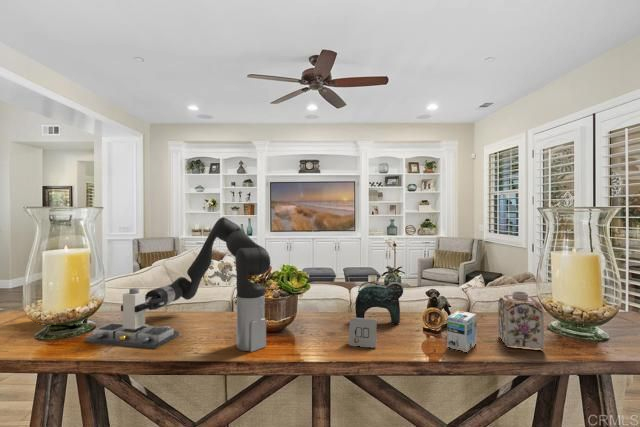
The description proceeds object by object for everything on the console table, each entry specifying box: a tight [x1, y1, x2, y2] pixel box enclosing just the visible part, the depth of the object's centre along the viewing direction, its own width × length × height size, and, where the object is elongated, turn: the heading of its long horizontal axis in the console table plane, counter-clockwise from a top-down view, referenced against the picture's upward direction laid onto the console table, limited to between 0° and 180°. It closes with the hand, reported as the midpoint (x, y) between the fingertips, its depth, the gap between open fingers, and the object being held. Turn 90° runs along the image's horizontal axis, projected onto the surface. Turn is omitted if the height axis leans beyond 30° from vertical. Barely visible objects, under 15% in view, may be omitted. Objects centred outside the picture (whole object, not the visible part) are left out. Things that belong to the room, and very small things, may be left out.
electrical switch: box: [348, 317, 378, 349], centre depth 120 cm, size 9×5×9 cm, turn 78°
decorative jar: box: [497, 290, 545, 350], centre depth 121 cm, size 12×12×18 cm
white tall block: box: [122, 287, 146, 329], centre depth 124 cm, size 5×5×14 cm
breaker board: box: [85, 321, 180, 350], centre depth 124 cm, size 27×13×4 cm, turn 78°
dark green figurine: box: [354, 273, 404, 324], centre depth 145 cm, size 20×6×20 cm, turn 82°
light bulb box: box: [446, 310, 478, 351], centre depth 119 cm, size 11×7×11 cm, turn 139°
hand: (128, 308), depth 122 cm, fingers closed on white tall block, 5 cm apart
